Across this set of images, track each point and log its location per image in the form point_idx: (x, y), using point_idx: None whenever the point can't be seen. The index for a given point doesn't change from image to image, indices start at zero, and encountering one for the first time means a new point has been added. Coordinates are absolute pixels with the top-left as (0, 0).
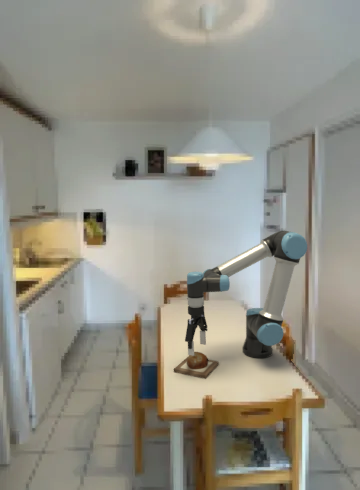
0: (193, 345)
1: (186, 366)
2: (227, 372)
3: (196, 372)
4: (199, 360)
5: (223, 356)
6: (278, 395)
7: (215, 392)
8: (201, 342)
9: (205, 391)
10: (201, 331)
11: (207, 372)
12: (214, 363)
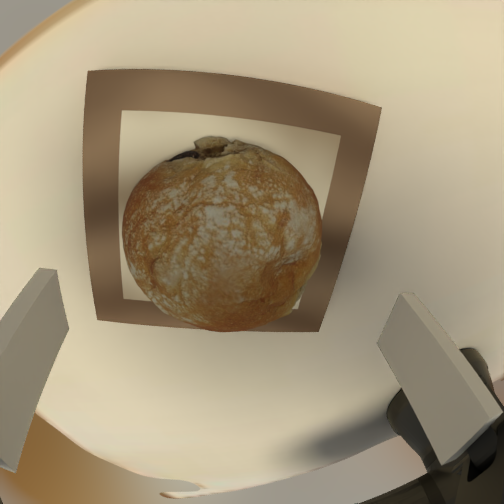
0: (19, 422)
1: (162, 152)
2: (226, 373)
3: (103, 259)
4: (156, 303)
5: None
6: (140, 470)
7: None
8: (403, 321)
9: None
10: (471, 437)
11: (140, 319)
12: (285, 320)
